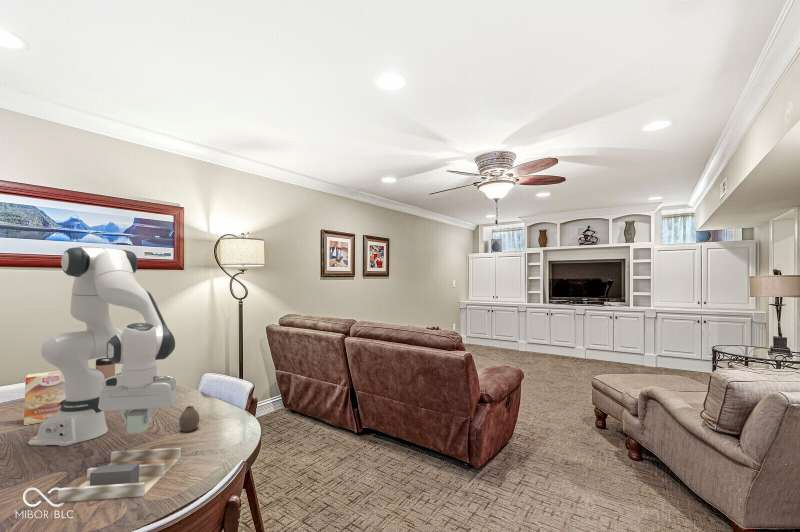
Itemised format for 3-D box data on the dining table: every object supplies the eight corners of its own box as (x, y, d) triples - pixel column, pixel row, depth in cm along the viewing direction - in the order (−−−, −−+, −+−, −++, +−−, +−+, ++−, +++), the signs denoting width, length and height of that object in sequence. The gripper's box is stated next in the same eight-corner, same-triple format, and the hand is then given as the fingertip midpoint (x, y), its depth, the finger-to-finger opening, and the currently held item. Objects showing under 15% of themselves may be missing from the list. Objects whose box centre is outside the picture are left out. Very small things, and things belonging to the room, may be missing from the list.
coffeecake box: (23, 426, 148) (25, 377, 149) (24, 421, 153) (26, 374, 154) (73, 417, 158) (74, 371, 159) (73, 413, 163) (74, 368, 164)
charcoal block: (89, 492, 99) (90, 473, 99) (99, 484, 103) (100, 466, 103) (130, 489, 101) (130, 470, 101) (138, 481, 105) (139, 463, 105)
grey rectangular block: (126, 433, 110) (127, 412, 111) (134, 428, 114) (135, 408, 115) (141, 432, 111) (141, 412, 111) (148, 427, 115) (149, 407, 115)
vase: (190, 434, 140) (190, 410, 140) (174, 432, 141) (174, 409, 142) (203, 427, 147) (203, 404, 147) (188, 426, 148) (188, 403, 148)
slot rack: (57, 506, 95) (58, 490, 95) (112, 464, 117) (113, 451, 117) (142, 499, 97) (142, 484, 98) (180, 460, 119) (180, 447, 119)
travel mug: (101, 398, 185) (102, 357, 185) (118, 397, 185) (119, 357, 186) (90, 403, 177) (91, 360, 178) (107, 402, 178) (108, 360, 179)
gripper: (180, 373, 118) (179, 417, 117) (109, 376, 115) (108, 421, 115) (170, 378, 112) (169, 425, 111) (96, 381, 109) (94, 429, 108)
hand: (138, 423), depth 113 cm, fingers closed on grey rectangular block, 4 cm apart
